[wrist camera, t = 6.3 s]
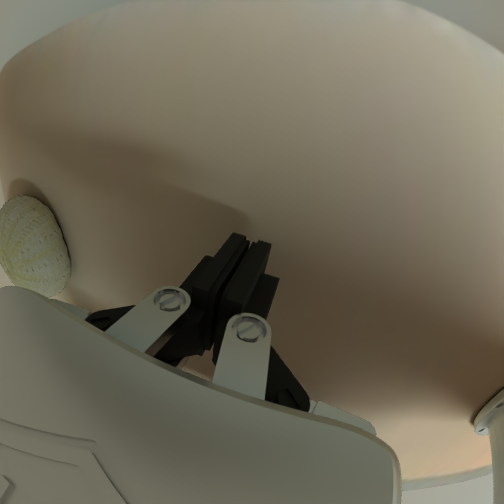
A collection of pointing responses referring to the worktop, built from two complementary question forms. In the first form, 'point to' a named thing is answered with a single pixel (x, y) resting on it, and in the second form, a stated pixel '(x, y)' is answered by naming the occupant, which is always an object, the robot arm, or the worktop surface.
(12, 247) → the sea urchin shell
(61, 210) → the worktop surface
